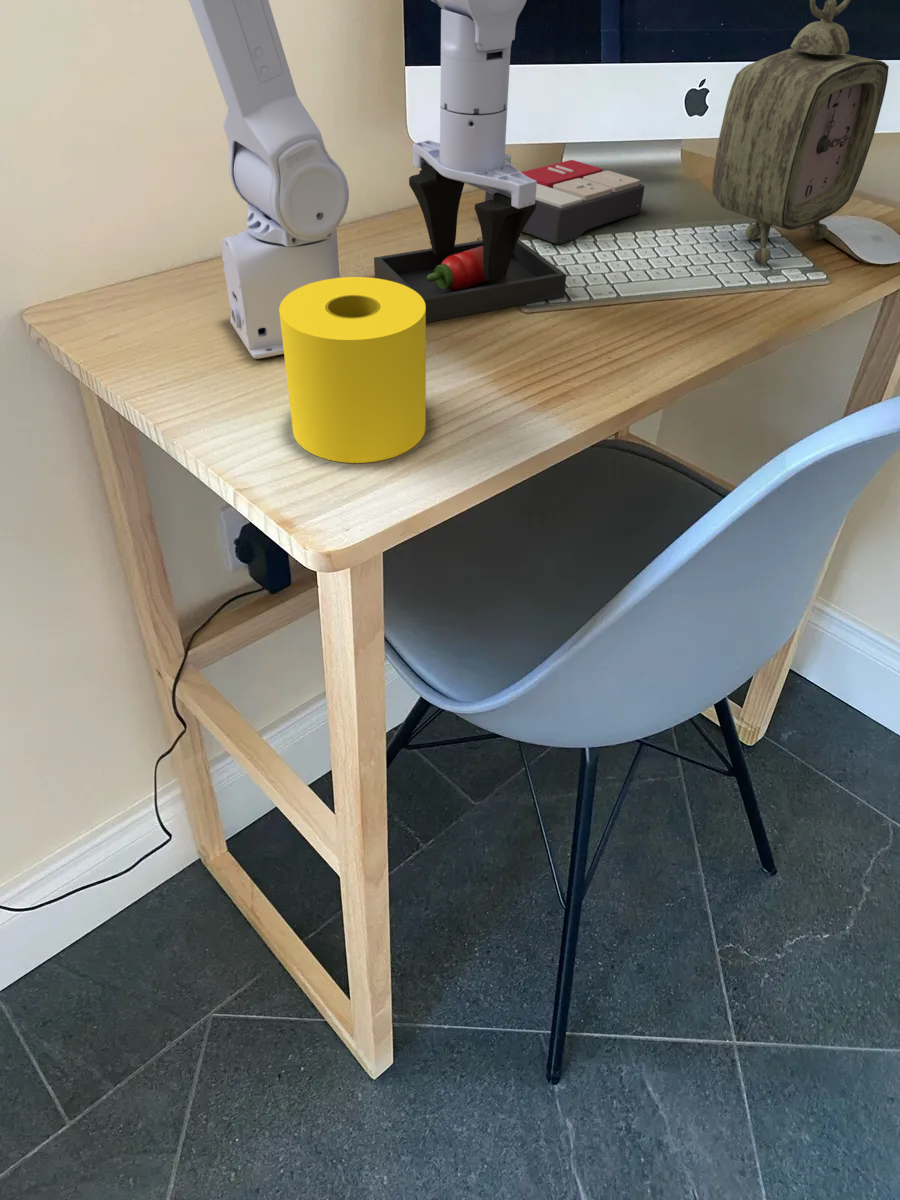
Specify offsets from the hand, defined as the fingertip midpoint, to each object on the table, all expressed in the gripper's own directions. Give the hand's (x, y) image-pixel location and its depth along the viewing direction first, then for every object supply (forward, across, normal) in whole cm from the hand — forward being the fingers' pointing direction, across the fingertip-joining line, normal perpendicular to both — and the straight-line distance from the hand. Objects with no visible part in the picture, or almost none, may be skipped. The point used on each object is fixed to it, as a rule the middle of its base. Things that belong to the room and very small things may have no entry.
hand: (468, 264), depth 86 cm
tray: (+2, 0, 0) cm, 2 cm away
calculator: (+2, +8, -21) cm, 23 cm away
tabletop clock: (+2, -11, -33) cm, 35 cm away
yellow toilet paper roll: (+2, -14, +23) cm, 27 cm away
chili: (+2, 0, 0) cm, 2 cm away
